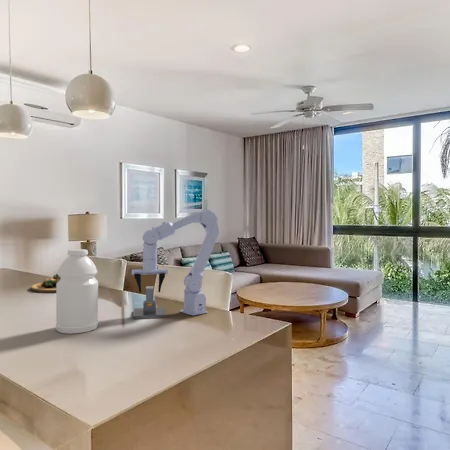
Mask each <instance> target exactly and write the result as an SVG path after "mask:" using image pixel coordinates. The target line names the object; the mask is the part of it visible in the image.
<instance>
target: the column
mask: <svg viewBox="0 0 450 450" xmlns="http://www.w3.org/2000/svg"><path fill="white" fill-rule="evenodd" d="M145 301H146V303H154V286H153V285H152V286H145Z"/></svg>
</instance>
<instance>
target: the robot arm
mask: <svg viewBox="0 0 450 450" xmlns="http://www.w3.org/2000/svg"><path fill="white" fill-rule="evenodd" d="M218 221H219V219H218V216H217V215H216V213H215V211H213V210H212V209H205V210H201V211H198V212H192V213H190V214H189V215H186V216H184V217H182V218H181V219H178V220H176V221H174V222H170V221H163V222H161V224H160V225H158V226H155V227H154V226H152V227H151V229H149V230H146V231H145V232H144V233H143V235H142V240H143V244H142V246H143V248H142V268H141V269H131V275H132V276H134V279H135V282H136V284H137V287H138V292H139V294H140V293H141V294H142V276H143V275H147V276H148V275H158V291H157V292H158V293H161V288H162V285H163V282H164V280H165V277H166V275H169V270H168V268H167V269H164V268H161V269H160V268H159V269H158V247H157V242H158V240H159V241H161V240H164V239H166V238H168V237H170V236H173V235H174V234H175V232H176V230H178V229H181V228H183V227H185V226H188V225H190V224H193V223H195V224H197V223H198V224H200V225H201V226H202V227H203V229H204V231H205V233H206V235H205V236H204V237H205V238H204V239H203V241H202V244H201V247H200V249H199V251H198V254H197V256H196V257H195V258H196V259H195V261H194V263H193V266H192V267H191V269H190V270H189V272H188V273H187V275H186V276H185V277H184V279H183V283H184V286H185V287H184V290H183V309H180V310H179V312H181V313H183V314H186V315H189V316H190V315H191V316H197V315H202V314H207V313H208V311H207V297H206V296H205V294H204V293H202V289H201V288H202V286H203V282H202V280H203V278H204V271H205V268H206V266H207V264H208V262H209V259H210V257H211V254H212V252H213V249H214V247H215V244H216V241H218V238H219V235H220V229H219V223H218Z"/></svg>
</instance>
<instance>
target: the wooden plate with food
mask: <svg viewBox="0 0 450 450" xmlns="http://www.w3.org/2000/svg"><path fill="white" fill-rule="evenodd" d="M60 279H61V278H60V276H59V275H58V274H57V273H56V274H54V275H53V276H52V277H49V278H47V279H45V280H43V281H42V282H38V283H34V284H32V285H31V286H30V290H31V291H32V292H36V293H42V294H44V293H46V294H56V284H57V282H59V280H60Z"/></svg>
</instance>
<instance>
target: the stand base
mask: <svg viewBox="0 0 450 450" xmlns="http://www.w3.org/2000/svg"><path fill="white" fill-rule="evenodd" d="M153 300H154V299H153ZM142 305H143V307H140V308H139V307H138V308H135V307H134V308H133V312H132V320H138V319H139V320H141V319H165V318H167V311H166V307H157V300H156V299H155V300H154V303H146V300H143V304H142Z"/></svg>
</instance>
